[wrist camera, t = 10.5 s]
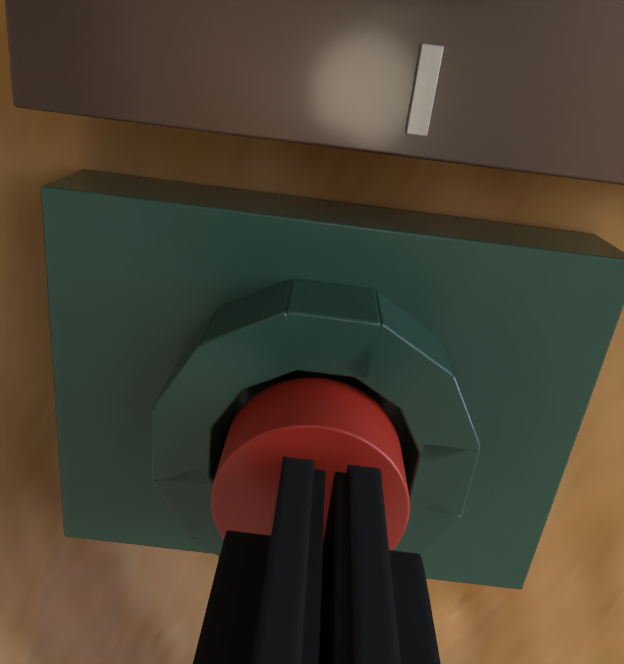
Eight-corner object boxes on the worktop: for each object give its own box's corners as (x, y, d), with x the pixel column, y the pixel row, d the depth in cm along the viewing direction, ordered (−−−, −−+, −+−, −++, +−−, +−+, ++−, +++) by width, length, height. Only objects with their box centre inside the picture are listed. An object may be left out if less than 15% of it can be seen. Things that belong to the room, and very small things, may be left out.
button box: (95, 482, 17) (30, 593, 14) (83, 168, 14) (-9, 205, 10) (500, 530, 17) (544, 652, 14) (596, 233, 14) (690, 292, 10)
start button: (221, 511, 13) (205, 573, 11) (232, 365, 11) (215, 413, 10) (384, 530, 13) (391, 594, 11) (415, 387, 12) (428, 439, 10)
